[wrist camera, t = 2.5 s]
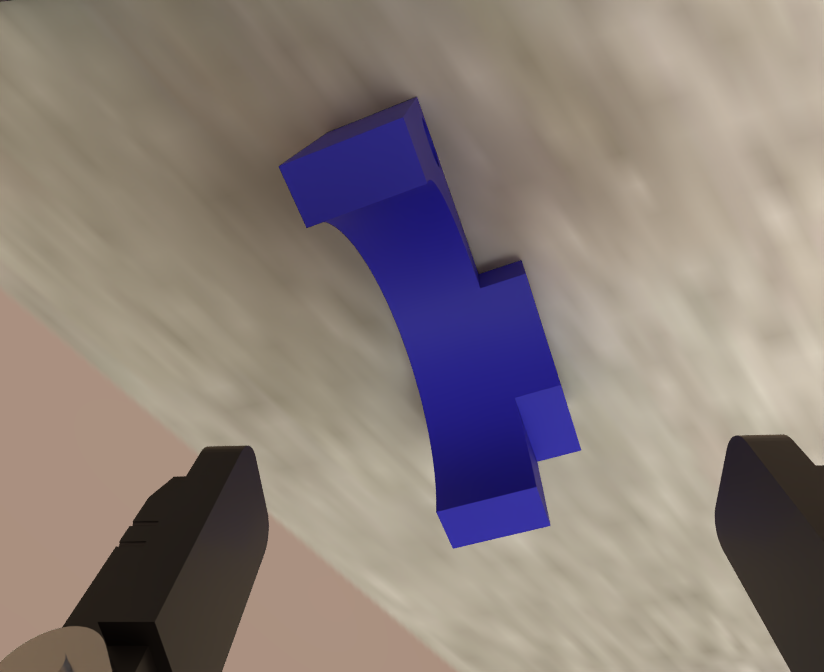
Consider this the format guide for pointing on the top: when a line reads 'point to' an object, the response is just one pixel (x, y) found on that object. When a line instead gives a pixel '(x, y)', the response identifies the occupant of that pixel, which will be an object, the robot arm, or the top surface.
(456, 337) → the blue curved block
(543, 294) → the top surface
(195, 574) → the robot arm
